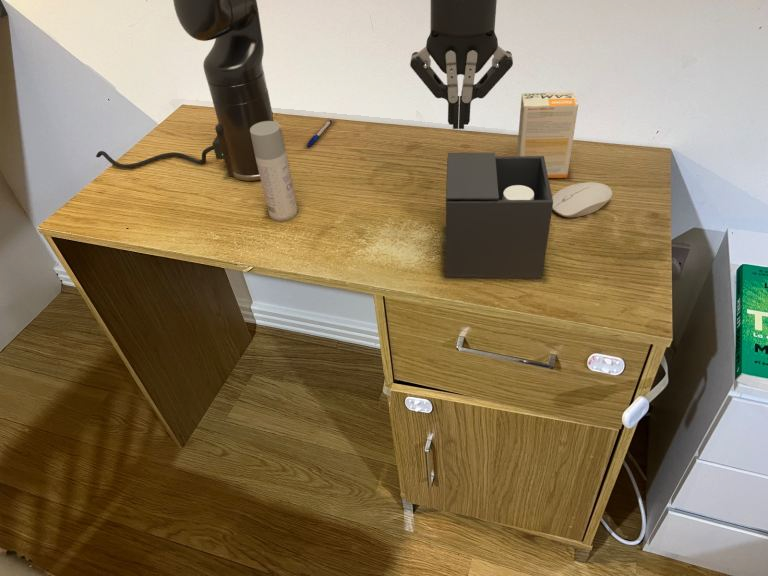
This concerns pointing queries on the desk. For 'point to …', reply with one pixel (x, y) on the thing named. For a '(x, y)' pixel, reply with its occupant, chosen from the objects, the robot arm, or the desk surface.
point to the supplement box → (548, 129)
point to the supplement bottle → (518, 193)
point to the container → (274, 170)
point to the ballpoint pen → (318, 134)
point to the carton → (501, 226)
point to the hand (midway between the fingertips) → (458, 126)
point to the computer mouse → (581, 199)
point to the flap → (472, 176)
